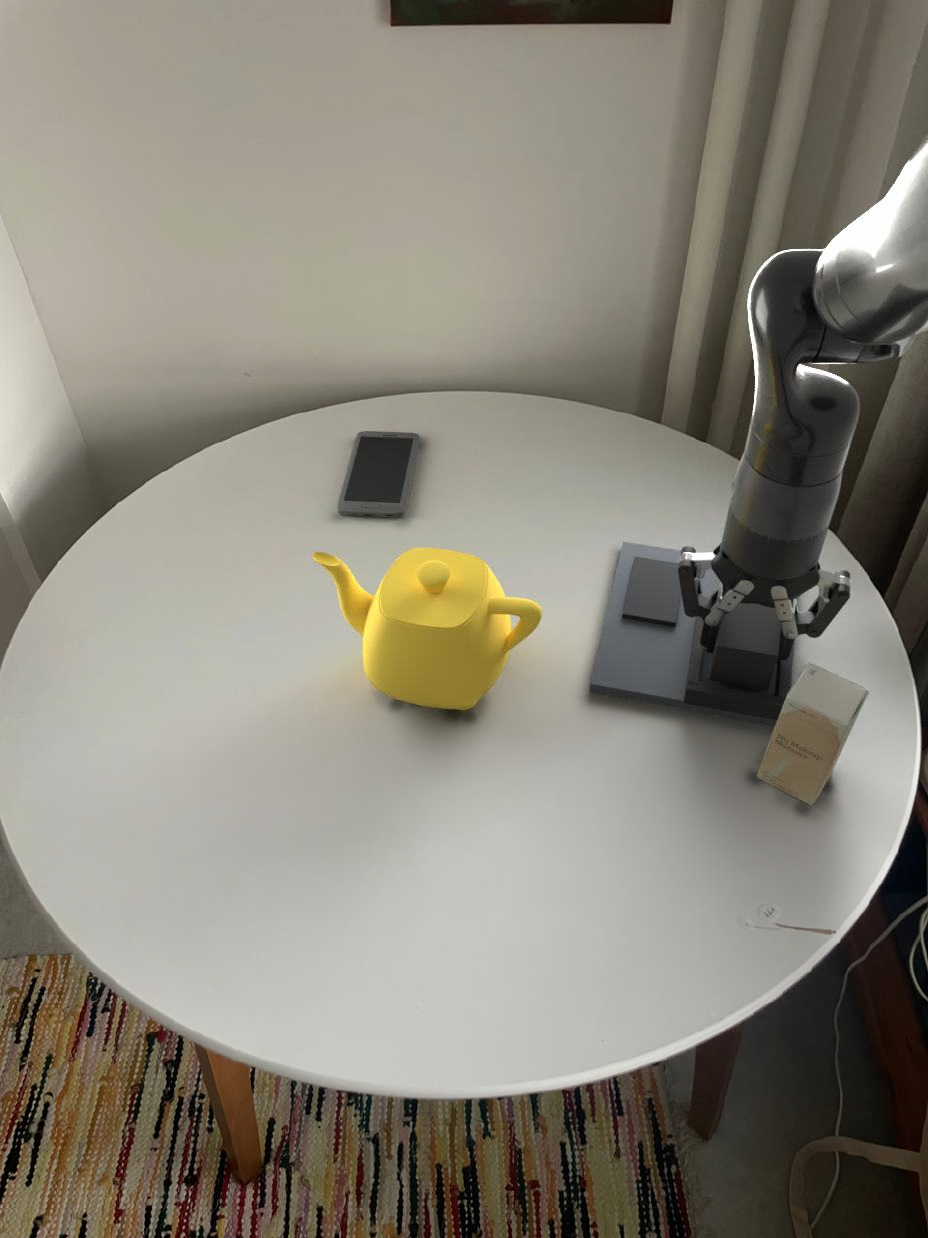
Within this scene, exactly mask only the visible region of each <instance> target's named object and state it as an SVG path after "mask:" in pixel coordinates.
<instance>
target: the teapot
mask: <svg viewBox="0 0 928 1238" xmlns="http://www.w3.org/2000/svg"><path fill="white" fill-rule="evenodd" d="M311 556H312V559H313V560H314V561H315V562H316V563H317V564H319V565H320V566H321V567H322V568H324V569H325V570H326V572H328V574H329V575H330V576H331V578H332V579H333V582H334V584H335V588H336V591H337V596H338V601H339V606H340V610H341V612H342V615H343V617H344V619H345V620H346V622H347V624H348V625H349V626H350V627H351V629H353V630H354V631H355V632H357V634H359V635H360V636H362V664H363V671H364V673H365V676H366V678H367V679H368V681H369V682H370V684H371V685H372V686H373V687H374V688H375V689H376V690H377V691H379V692H381V693H382V694H385V695H386V696H388V697H390V698H393V699H395V700H398V701H401V702H405V703H408V704H412V705H417V706H422V707H427V708H434V709H436V708H437V709H443V710H459V711H467V710H470V709H472V708H475V706H476V705H477V703H478V701H479V700H480V699H482V698H484V696H485V694H487V693H488V692H489V690H491V689H492V688H493V686H494V684H496V682H497V680H498V679H499V677H500V676H501V674H502V672H503V670H504V669H505V666H506V663H507V661H508V658H509V655H510V652H511V650H512V649H513V648H515V647H516V646H518V645H519V644H520V643H522V642H523V641H524V640H525V639H526V638H528V637H529V636H530V635H531V634H533V632H535V630H536V629H537V628H538V626H539V625H540V622H541V620H542V617H543V616H542V615H543V610H542V607H541V606H540V605H539V604H538V603H537V602H536V601H534V600H531V599H528V598H523V597H522V598H521V597H508V596H506V594H505V592H504V590H503V587H502V585H501V583H500V581H499V580H498V578H497V577H496V575H495V574H494V572H493V571H492V570H491V568H490V566H488V564H487V563H486V562H485V561H484V560H483V559H482V558H480V557H478V556H477V555H473V554H471V553H466V552H462V551H458V550H457V551H456V550H450V549H445V548H436V547H425V546H424V547H413V548H410V549H408V550H406V551H404V552H403V553H402V554H400V556H398V557H397V558H396V559H395V560H394V562H393V563H392V564H391V566H390V567H389V568H388V571H387V572H386V573H385V575H384V577H383V578H382V579H381V582H380V584H379V585H378V588H377V590H376V591H375V594H374V595H372V594H371V593H369V592H368V591H366V590H365V589H364V588H363V587H361V585H360V584H359V583H358V581H357V579H356V578H355V576H354V574H353V572H352V571H351V569H350V568H349V567H348V565H347V564H346V563H345V562H344V561H342V560H341V559H339V557H336V556H334V555H332V554H330V553H327V552H322V551H315V552H313V553H312V554H311ZM511 616H516V617H519V620H518V621H517V624H516V625H515V626H514V628H513V629H512V619H511Z"/></svg>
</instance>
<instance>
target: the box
mask: <svg viewBox="0 0 928 1238" xmlns="http://www.w3.org/2000/svg"><path fill="white" fill-rule="evenodd" d="M869 694H870V690H869V689H868V688H866V687H864V686H863V685H860V684H858V683H856V682H853V680H850V679H848V678H845V677H844V676H841V675H839V674H836V673H834V672H833V671H830V670H827V669H825V668H823V667H821V666H818V665H816V664H814V663H812V662H810V661H807V662H806V663H805V665H804V666H803V667H802V669H801V671H800V672H799V674H798V676H797V677H796V679H795V680H794V682H793V684H792V685H791V689H790V691H789V693H788V694H787V697H786V699H785V702H784V705H783V707H782V710H781V712H780V715H779V718H778V720H777V723H776V725H774V729H773V731H772V734H771V737H770V740H769V742H768V745H767V748H766V750H765V753H764V755H763V758H762V760H761V763H760V765H759V769H758V772H757V773H756V777H757V778H758V779H759V780H761V781H763V782H765V783H766V784H769V785H771V786H772V787H775V788H776V789H778V790H780V791H782V792H784V793H786V794H787V795H789V796H791V797H793V798H795V799H797V800H799V801H801V802H803V803H805V804H807V805H809V806H813V805H814V804H815V802H817V799H818V798H819V796H820V795H821V793H822V792H823V789H824V788H825V786H826V784H827V782H828V780H829V779H830V777H831V775H832V773H833V770H834V768H835V767H836V765H837V762H838V759H839V758H840V755H841V754H842V751H843V749H844V747H845V744H846V743H847V740H848V738H849V736H850V734H851V732H852V731H853V730H852V729H853V728H854V725H855V724H856V721H857V718H858V717H859V714H860V712H861V710H862V708H863V706H864V704H865V702H866V700H867V697H868V696H869Z"/></svg>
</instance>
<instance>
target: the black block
mask: <svg viewBox="0 0 928 1238" xmlns="http://www.w3.org/2000/svg"><path fill="white" fill-rule="evenodd" d="M780 631H781V625H780V622H779V621H778V617H777V613H776V609H775V608H770V607H765V606H763V605H760V604H746V603H739V604H738V605H737V606H736V608H735V609H734V610H733V611H732V612H731V613H730V614H728V613H727V614H726V616H725V617H724V618H723V619H722V620H721V622H720V626H719V631H718V635H717V639H716V644H715V648H714V652H713V654H712V662H711V670H710V677H709V680H712V681H718V682H723V683H729V684H734V685H740V686H746V687H751V688H757V689H762V690H769V687H770V683H771V680H772V677H773V673H774V670H775V667H776V664H777V660H778V657H779V645H780Z"/></svg>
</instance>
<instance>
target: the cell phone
mask: <svg viewBox="0 0 928 1238" xmlns="http://www.w3.org/2000/svg"><path fill="white" fill-rule="evenodd" d="M420 436H421V435H419V433H415V432H405V431H404V432H399V431H377V430H375V431H374V430H364V431H363V430H362V431H359V432H358V433H356V436H355V438H354V442H353V446H352V449H351V452H350V456H349V460H348V463H347V468H346V471H345V475H344V479H343V482H342V485H341V489H340V494H339V496H338V501H337V513H338V514H339V515H342V516H354V517H356V516H357V517H376V518H377V517H378V518H379V517H380V518H402V517H405V515H406V512H407V509H408V504H409V500H410V499H409V498H410V494H411V489H412V485H413V484H412V483H413V479H414V474H415V469H416V465H417V459H418V454H419V449H420V444H421V437H420Z"/></svg>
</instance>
